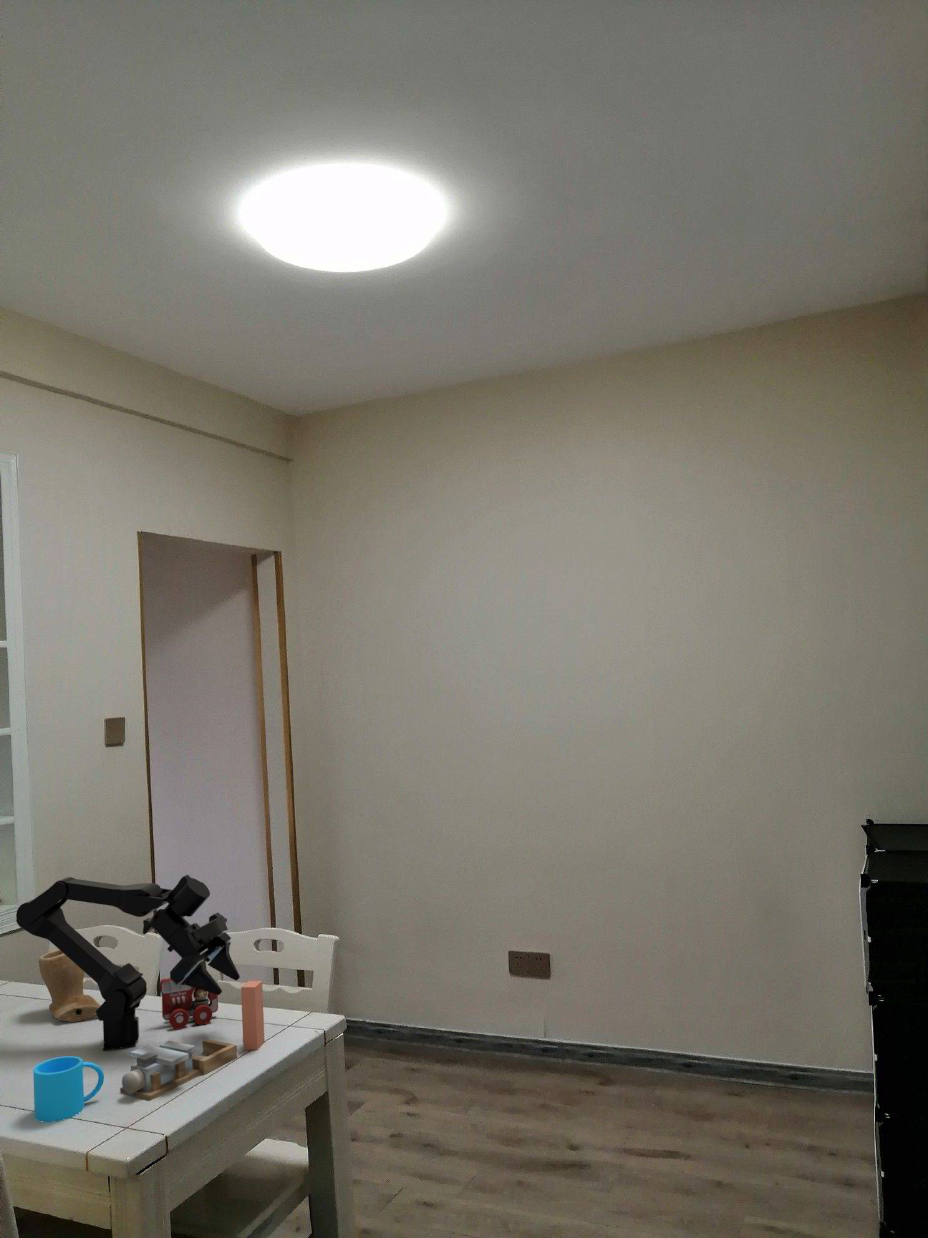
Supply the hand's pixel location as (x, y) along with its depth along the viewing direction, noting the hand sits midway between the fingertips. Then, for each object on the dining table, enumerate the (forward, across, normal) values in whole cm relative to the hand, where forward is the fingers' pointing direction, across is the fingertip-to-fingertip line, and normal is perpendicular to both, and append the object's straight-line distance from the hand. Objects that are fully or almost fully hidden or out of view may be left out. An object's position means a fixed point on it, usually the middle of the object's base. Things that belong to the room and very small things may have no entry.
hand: (229, 986), depth 205 cm
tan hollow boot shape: (-24, +17, +41) cm, 51 cm away
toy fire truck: (-2, +13, +20) cm, 23 cm away
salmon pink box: (+12, 0, +5) cm, 13 cm away
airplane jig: (+5, -15, +12) cm, 20 cm away
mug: (-4, -30, +21) cm, 37 cm away
